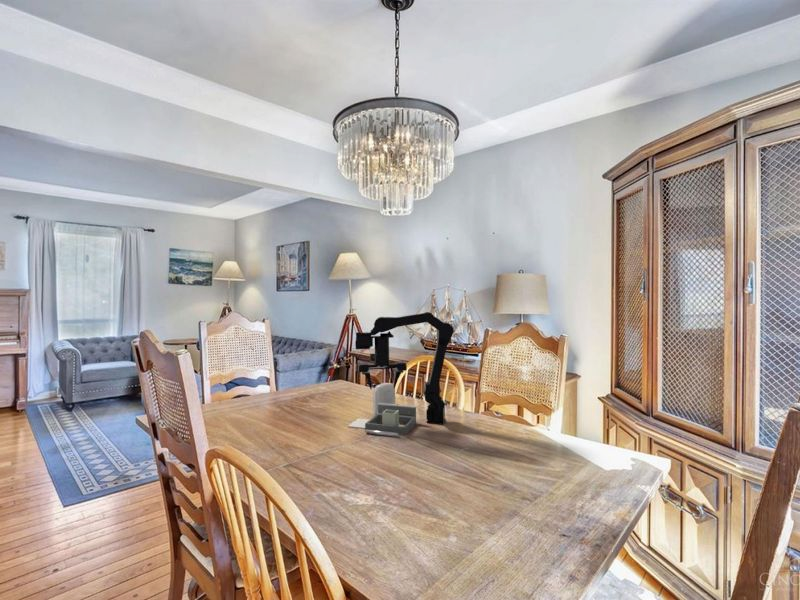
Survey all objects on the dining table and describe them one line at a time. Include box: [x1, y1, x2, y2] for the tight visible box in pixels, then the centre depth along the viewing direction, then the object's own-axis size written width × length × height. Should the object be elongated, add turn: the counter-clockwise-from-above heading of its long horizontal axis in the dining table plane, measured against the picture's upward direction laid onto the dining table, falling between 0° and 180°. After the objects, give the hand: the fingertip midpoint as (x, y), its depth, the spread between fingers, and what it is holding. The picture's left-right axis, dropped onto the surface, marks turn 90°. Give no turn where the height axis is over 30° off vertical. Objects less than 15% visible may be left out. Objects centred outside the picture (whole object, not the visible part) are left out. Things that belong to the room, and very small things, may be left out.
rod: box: [365, 429, 400, 438], centre depth 146 cm, size 12×1×1 cm, turn 72°
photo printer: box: [373, 382, 396, 415], centre depth 175 cm, size 10×4×12 cm, turn 134°
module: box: [381, 409, 400, 426], centre depth 155 cm, size 5×5×6 cm
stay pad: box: [347, 417, 370, 430], centre depth 159 cm, size 7×10×1 cm
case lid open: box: [378, 403, 417, 424], centre depth 162 cm, size 16×2×6 cm, turn 72°
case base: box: [364, 413, 416, 435], centre depth 155 cm, size 16×13×3 cm
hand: (382, 388), depth 161 cm, fingers open, 9 cm apart
